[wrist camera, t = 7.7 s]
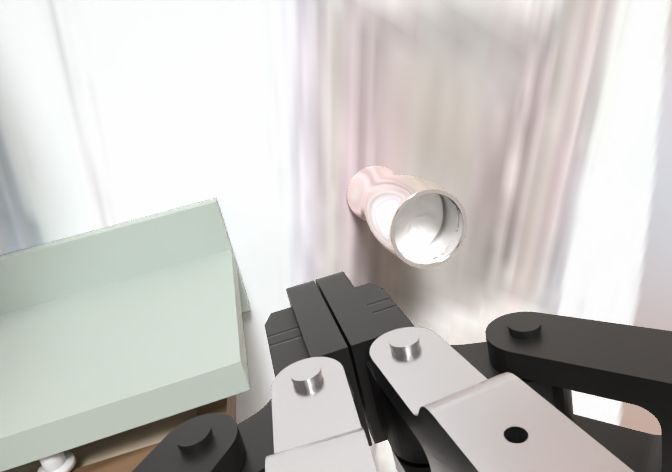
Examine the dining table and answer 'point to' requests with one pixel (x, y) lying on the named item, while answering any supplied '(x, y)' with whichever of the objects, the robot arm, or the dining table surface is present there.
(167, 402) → the board
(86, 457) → the frame
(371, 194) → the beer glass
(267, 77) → the dining table surface
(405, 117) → the dining table surface
